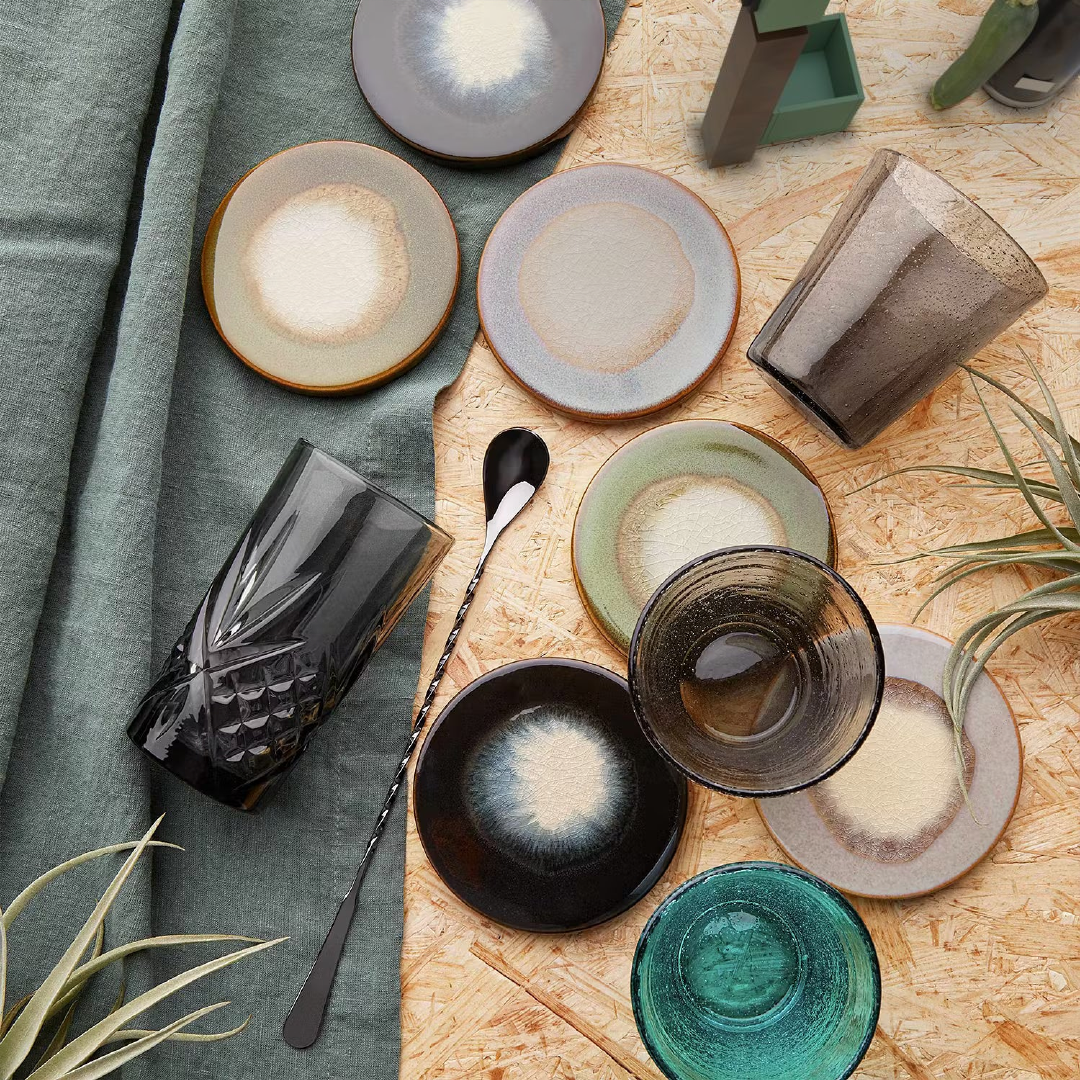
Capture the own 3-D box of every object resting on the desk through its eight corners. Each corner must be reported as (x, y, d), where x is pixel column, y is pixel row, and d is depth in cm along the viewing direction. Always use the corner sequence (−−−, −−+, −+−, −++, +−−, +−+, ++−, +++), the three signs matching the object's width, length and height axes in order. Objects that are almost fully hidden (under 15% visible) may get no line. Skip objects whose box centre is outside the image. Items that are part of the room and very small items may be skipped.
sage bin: (826, 47, 97) (844, 11, 91) (845, 130, 96) (865, 98, 90) (740, 62, 96) (753, 27, 91) (758, 145, 95) (773, 114, 90)
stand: (741, 121, 96) (798, -16, 76) (750, 161, 95) (809, 34, 75) (699, 128, 96) (745, -7, 76) (708, 168, 95) (756, 43, 75)
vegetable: (964, 90, 96) (1078, -53, 77) (962, 129, 96) (1076, -5, 76) (922, 86, 96) (1024, -59, 76) (919, 125, 96) (1022, -10, 76)
